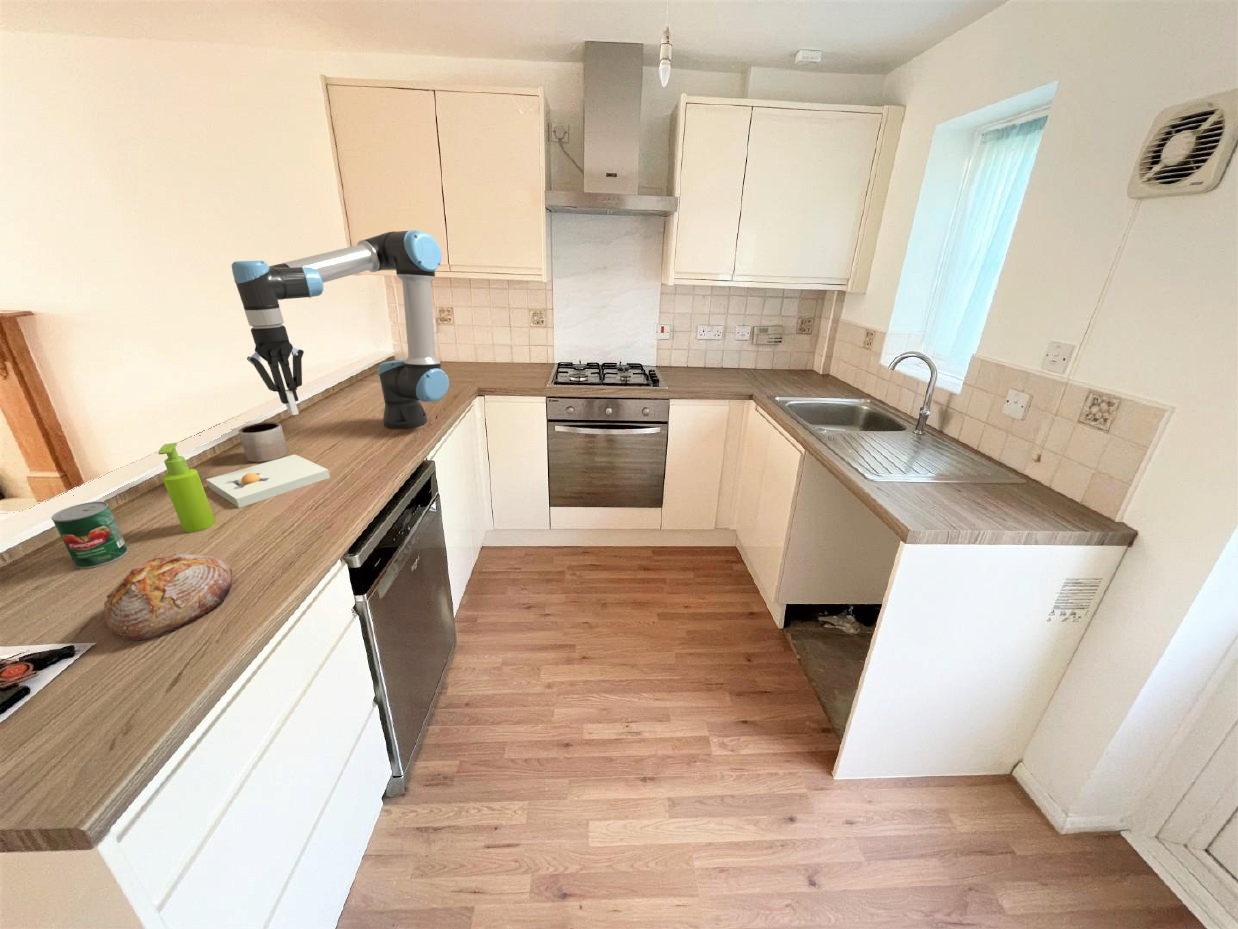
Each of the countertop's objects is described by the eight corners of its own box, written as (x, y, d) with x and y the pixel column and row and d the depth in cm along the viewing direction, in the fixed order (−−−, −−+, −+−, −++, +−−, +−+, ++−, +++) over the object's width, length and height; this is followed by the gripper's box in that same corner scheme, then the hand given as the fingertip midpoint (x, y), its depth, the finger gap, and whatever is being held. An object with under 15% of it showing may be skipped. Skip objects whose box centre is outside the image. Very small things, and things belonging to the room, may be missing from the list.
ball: (250, 488, 132) (260, 475, 134) (256, 492, 130) (266, 479, 132) (235, 481, 129) (245, 468, 131) (241, 485, 127) (251, 472, 128)
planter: (239, 460, 150) (229, 430, 146) (273, 448, 159) (265, 420, 155) (263, 465, 146) (253, 435, 142) (297, 453, 155) (289, 424, 151)
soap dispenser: (178, 536, 109) (144, 452, 101) (187, 523, 114) (155, 442, 106) (211, 530, 111) (180, 448, 103) (218, 517, 117) (189, 438, 109)
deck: (297, 461, 148) (294, 454, 147) (330, 477, 138) (328, 469, 137) (209, 487, 132) (206, 479, 131) (239, 508, 121) (236, 499, 120)
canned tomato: (82, 573, 96) (57, 524, 92) (70, 561, 100) (45, 513, 96) (134, 554, 102) (113, 507, 98) (121, 543, 106) (100, 498, 102)
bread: (85, 659, 77) (51, 608, 73) (159, 583, 95) (135, 540, 91) (204, 635, 81) (177, 586, 76) (253, 567, 98) (234, 524, 94)
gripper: (288, 321, 133) (311, 405, 142) (232, 328, 123) (261, 417, 133) (301, 323, 129) (324, 409, 138) (244, 330, 119) (273, 422, 129)
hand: (293, 413), depth 135 cm, fingers closed
